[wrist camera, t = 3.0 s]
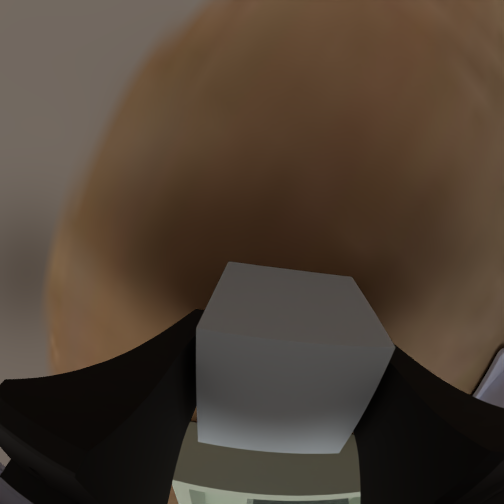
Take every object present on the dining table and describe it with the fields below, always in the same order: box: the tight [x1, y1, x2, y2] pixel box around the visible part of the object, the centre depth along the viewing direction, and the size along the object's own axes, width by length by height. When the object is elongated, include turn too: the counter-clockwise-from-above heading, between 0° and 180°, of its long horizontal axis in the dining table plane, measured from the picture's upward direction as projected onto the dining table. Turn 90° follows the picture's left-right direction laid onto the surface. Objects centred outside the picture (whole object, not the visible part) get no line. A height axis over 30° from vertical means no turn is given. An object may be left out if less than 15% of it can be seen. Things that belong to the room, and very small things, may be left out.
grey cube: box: [196, 261, 395, 454], centre depth 8 cm, size 4×4×4 cm
